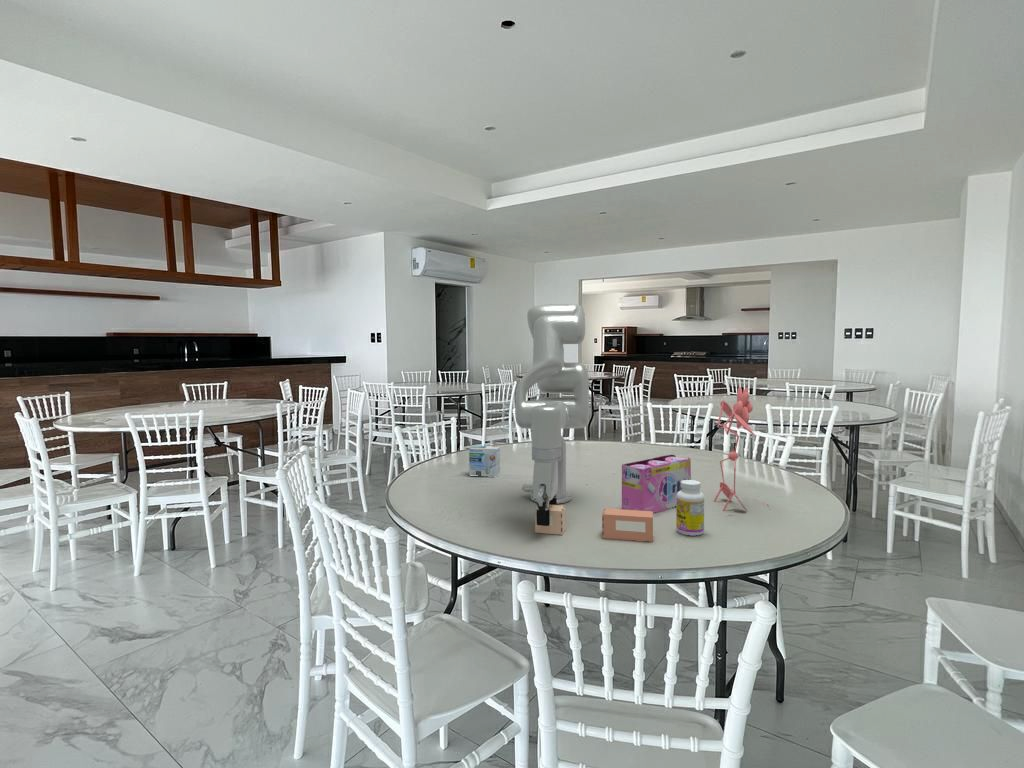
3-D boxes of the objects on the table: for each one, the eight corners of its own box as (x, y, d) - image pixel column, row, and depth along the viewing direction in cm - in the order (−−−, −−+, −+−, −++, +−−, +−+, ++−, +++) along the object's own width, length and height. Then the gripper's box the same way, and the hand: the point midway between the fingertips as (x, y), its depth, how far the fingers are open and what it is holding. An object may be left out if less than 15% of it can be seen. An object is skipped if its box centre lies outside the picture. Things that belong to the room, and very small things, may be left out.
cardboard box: (602, 538, 132) (602, 513, 132) (604, 531, 137) (604, 507, 137) (652, 542, 129) (652, 517, 129) (652, 535, 134) (653, 511, 134)
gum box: (672, 496, 169) (673, 453, 168) (694, 502, 163) (695, 457, 162) (620, 510, 155) (620, 464, 154) (642, 517, 149) (642, 468, 148)
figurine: (729, 519, 146) (734, 389, 143) (703, 494, 171) (707, 384, 169) (788, 521, 144) (794, 390, 142) (753, 495, 170) (758, 384, 168)
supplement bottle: (672, 528, 139) (672, 479, 138) (697, 527, 140) (697, 478, 139) (682, 537, 132) (682, 485, 132) (708, 536, 133) (709, 484, 132)
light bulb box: (468, 477, 198) (468, 448, 198) (473, 473, 205) (472, 444, 204) (497, 478, 196) (497, 448, 196) (500, 473, 203) (500, 445, 202)
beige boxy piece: (535, 532, 137) (534, 509, 136) (539, 526, 142) (539, 503, 141) (562, 534, 135) (562, 511, 134) (565, 528, 140) (565, 505, 139)
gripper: (539, 445, 147) (539, 507, 148) (524, 460, 130) (524, 529, 132) (566, 447, 145) (567, 509, 146) (554, 462, 128) (555, 531, 130)
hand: (547, 518), depth 139 cm, fingers open, 9 cm apart
